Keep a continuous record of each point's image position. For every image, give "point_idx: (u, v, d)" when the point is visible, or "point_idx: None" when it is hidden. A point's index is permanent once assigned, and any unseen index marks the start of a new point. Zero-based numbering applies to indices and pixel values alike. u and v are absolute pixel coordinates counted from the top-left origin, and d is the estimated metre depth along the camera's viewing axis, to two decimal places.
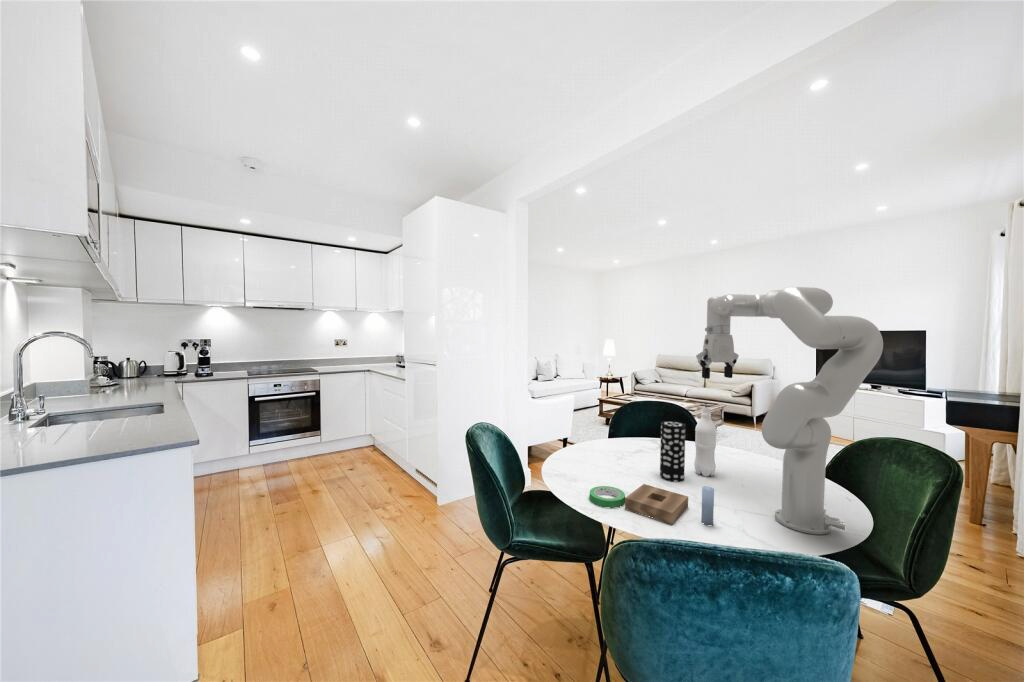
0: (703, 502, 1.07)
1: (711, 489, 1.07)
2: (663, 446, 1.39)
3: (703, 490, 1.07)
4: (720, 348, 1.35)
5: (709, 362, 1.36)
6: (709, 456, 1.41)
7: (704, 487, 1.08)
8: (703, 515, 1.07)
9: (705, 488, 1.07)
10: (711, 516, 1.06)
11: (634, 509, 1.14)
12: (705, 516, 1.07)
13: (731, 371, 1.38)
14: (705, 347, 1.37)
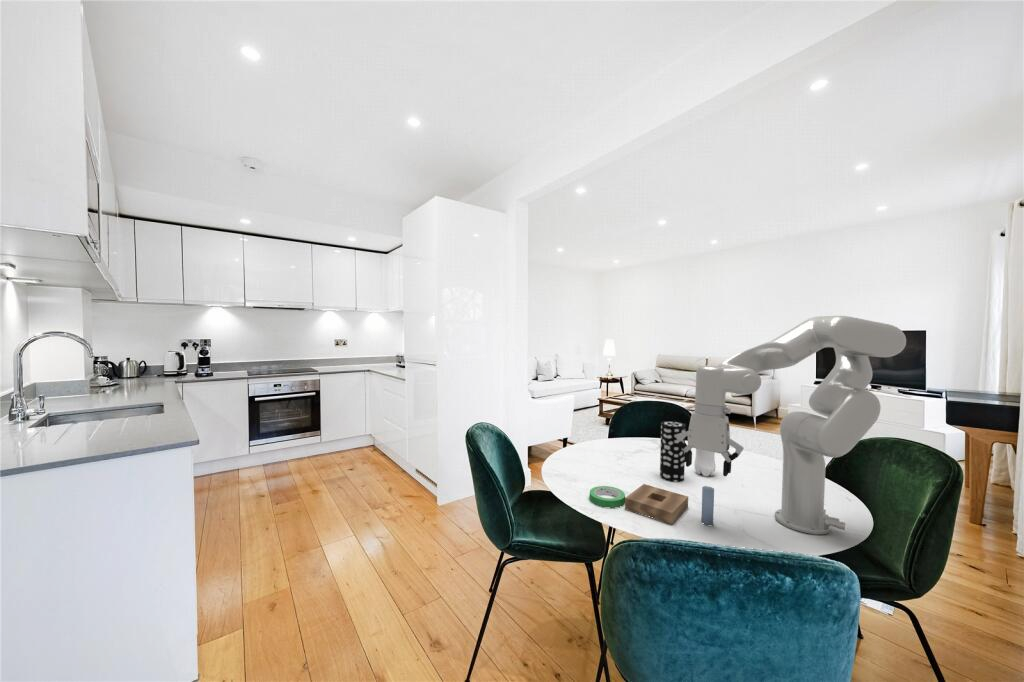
0: (703, 502, 1.07)
1: (711, 489, 1.07)
2: (663, 446, 1.39)
3: (703, 490, 1.07)
4: None
5: None
6: (709, 456, 1.41)
7: (704, 487, 1.08)
8: (703, 515, 1.07)
9: (705, 488, 1.07)
10: (711, 516, 1.06)
11: (634, 509, 1.14)
12: (706, 516, 1.07)
13: None
14: (728, 435, 1.03)
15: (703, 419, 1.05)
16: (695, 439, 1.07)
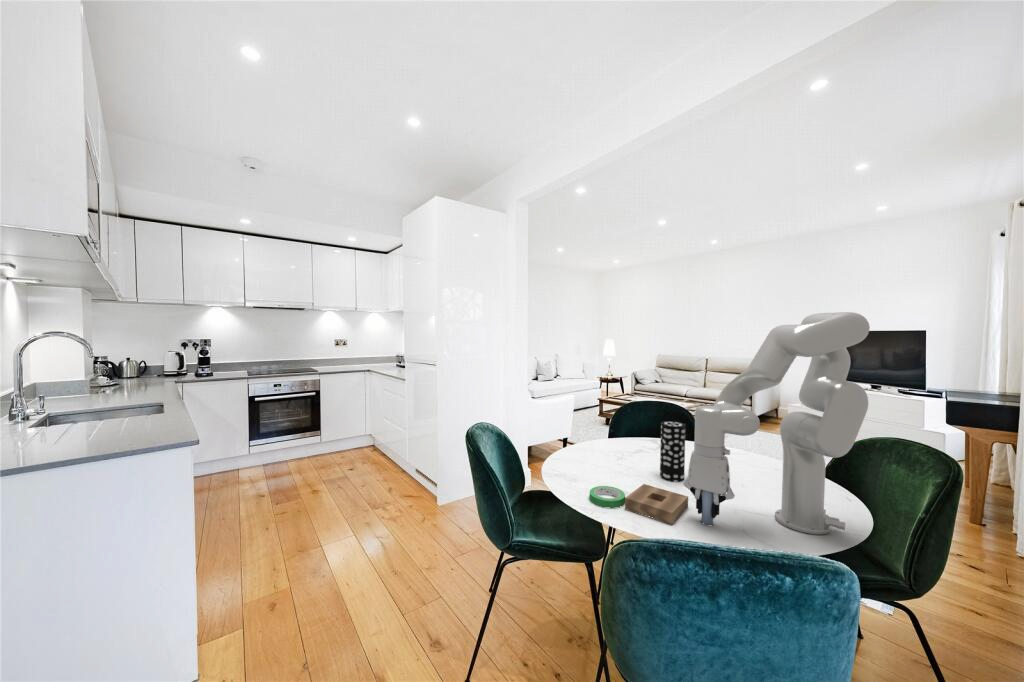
0: (703, 502, 1.07)
1: None
2: (663, 446, 1.39)
3: (703, 490, 1.07)
4: None
5: None
6: None
7: None
8: (703, 515, 1.07)
9: None
10: (711, 516, 1.06)
11: (634, 509, 1.14)
12: (705, 516, 1.07)
13: None
14: (727, 476, 1.04)
15: (703, 460, 1.06)
16: (695, 479, 1.08)
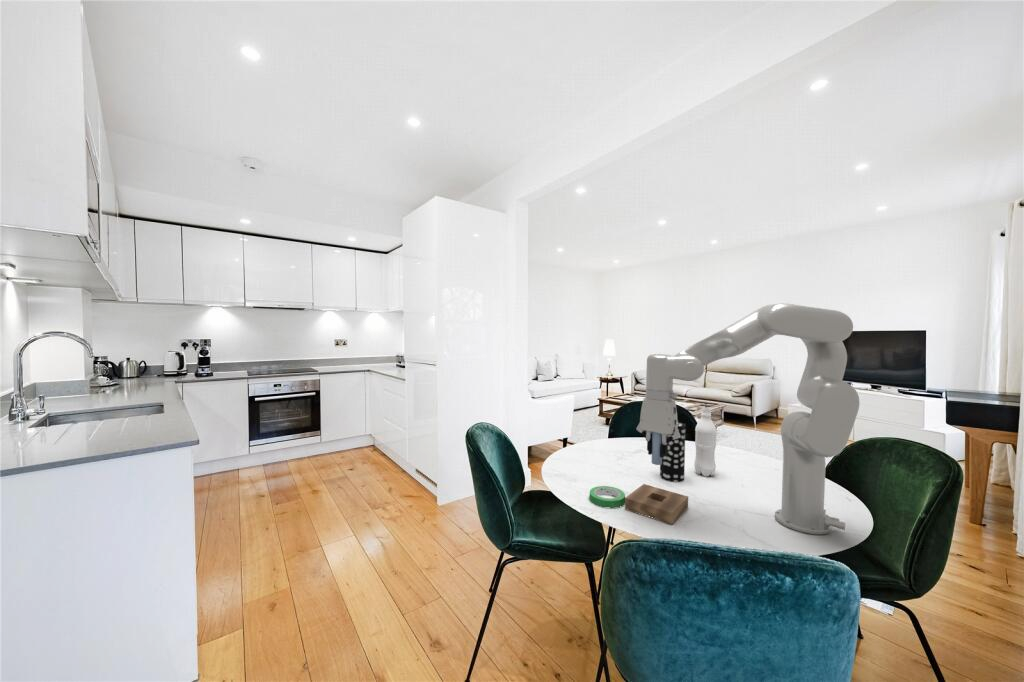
0: (653, 443, 1.15)
1: None
2: None
3: (653, 432, 1.15)
4: None
5: None
6: (709, 456, 1.41)
7: None
8: (653, 455, 1.15)
9: None
10: None
11: (634, 509, 1.14)
12: (655, 456, 1.15)
13: None
14: (674, 418, 1.12)
15: (653, 404, 1.14)
16: (646, 422, 1.16)
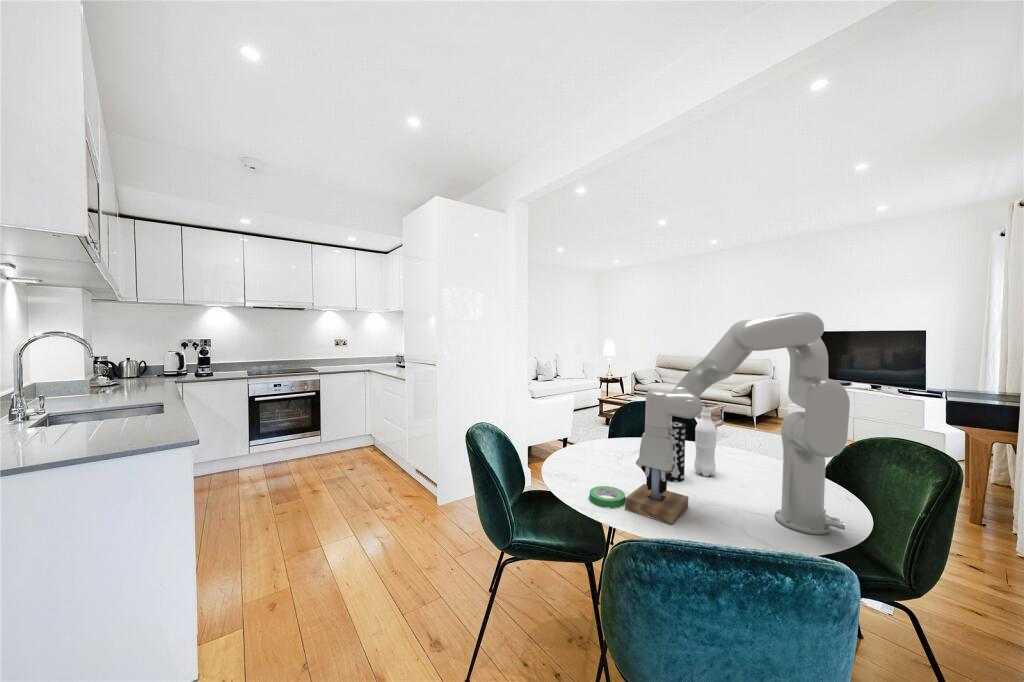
0: (652, 479, 1.16)
1: None
2: None
3: (652, 468, 1.16)
4: None
5: None
6: (709, 456, 1.41)
7: None
8: (652, 491, 1.16)
9: None
10: None
11: (634, 509, 1.14)
12: (654, 492, 1.15)
13: None
14: (673, 454, 1.12)
15: (652, 440, 1.14)
16: (645, 458, 1.16)
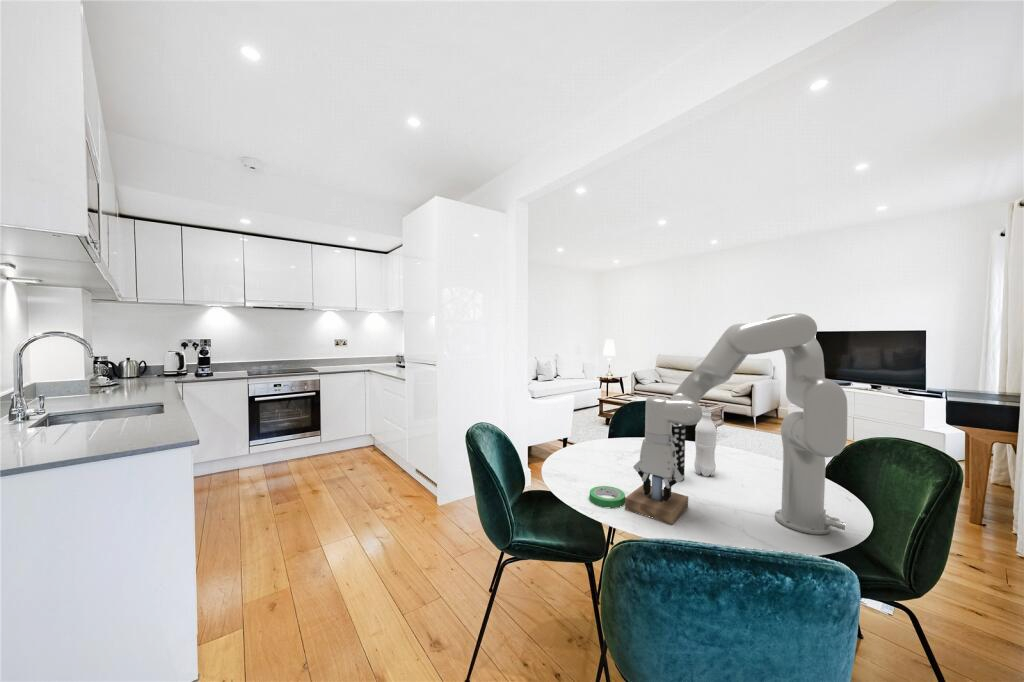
0: (652, 489, 1.16)
1: (660, 477, 1.15)
2: None
3: (653, 478, 1.16)
4: None
5: None
6: (709, 456, 1.41)
7: (654, 476, 1.16)
8: None
9: (654, 476, 1.16)
10: None
11: (634, 509, 1.14)
12: None
13: None
14: (673, 461, 1.12)
15: (652, 447, 1.14)
16: (645, 465, 1.16)
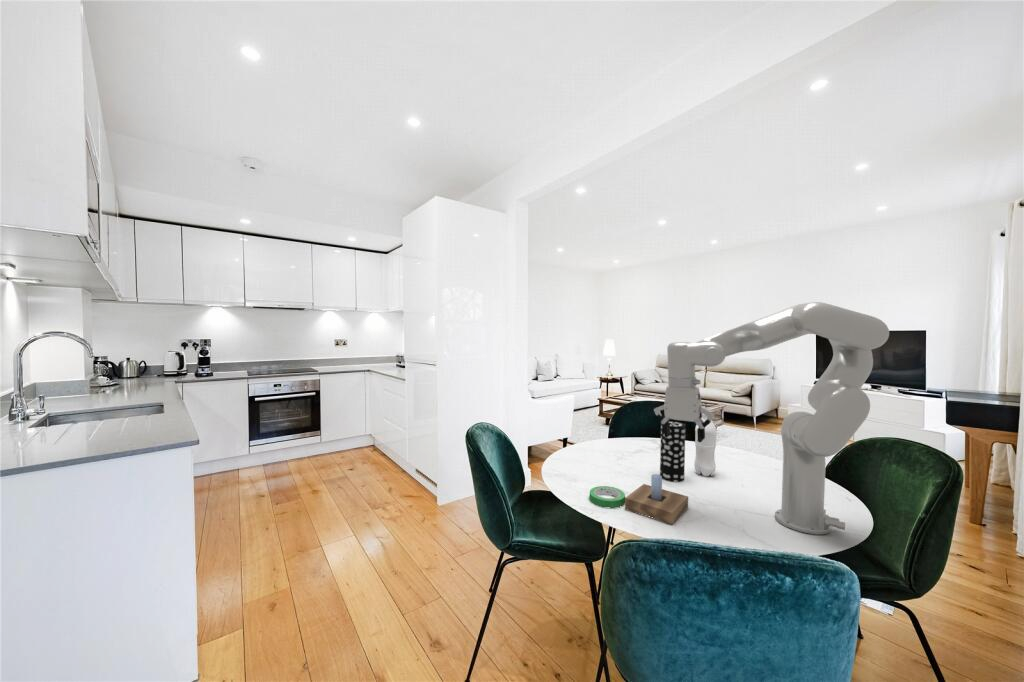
0: (652, 489, 1.16)
1: (659, 477, 1.15)
2: (663, 446, 1.39)
3: (652, 478, 1.16)
4: None
5: None
6: (709, 456, 1.41)
7: (653, 475, 1.16)
8: None
9: (654, 476, 1.16)
10: None
11: (634, 509, 1.14)
12: None
13: None
14: (699, 404, 1.12)
15: (676, 392, 1.14)
16: (671, 411, 1.16)
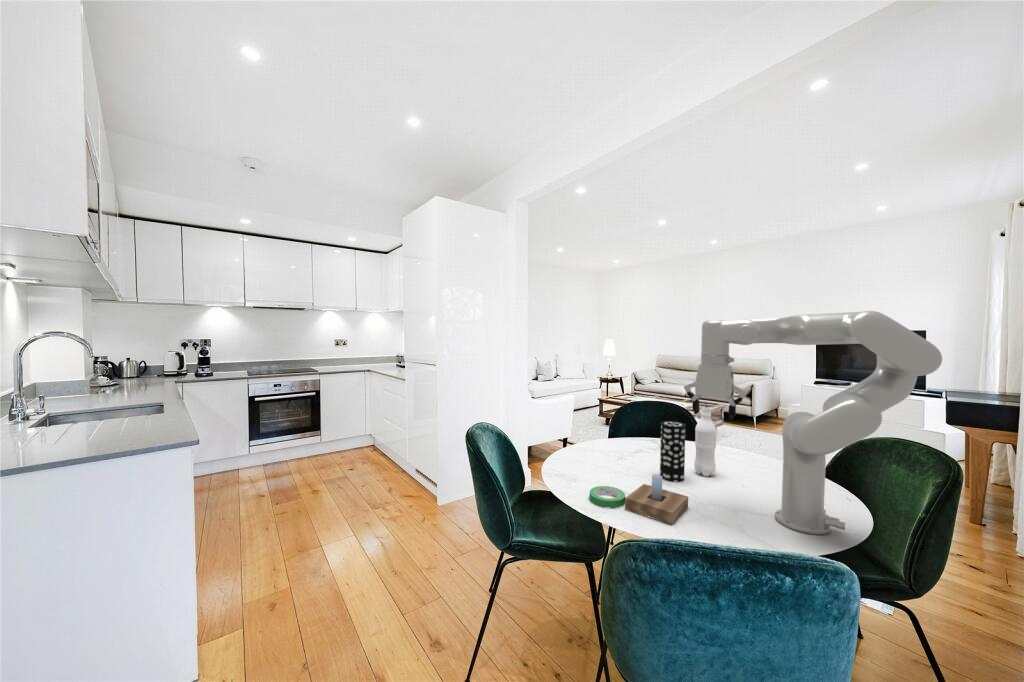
0: (652, 489, 1.16)
1: (660, 477, 1.15)
2: (663, 446, 1.39)
3: (652, 478, 1.16)
4: None
5: None
6: (709, 456, 1.41)
7: (654, 475, 1.16)
8: None
9: (654, 476, 1.16)
10: None
11: (634, 509, 1.14)
12: None
13: None
14: (732, 382, 1.13)
15: (709, 369, 1.15)
16: (702, 388, 1.17)
